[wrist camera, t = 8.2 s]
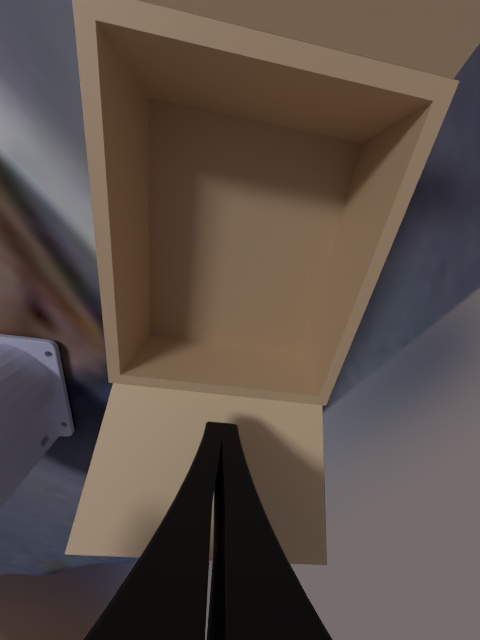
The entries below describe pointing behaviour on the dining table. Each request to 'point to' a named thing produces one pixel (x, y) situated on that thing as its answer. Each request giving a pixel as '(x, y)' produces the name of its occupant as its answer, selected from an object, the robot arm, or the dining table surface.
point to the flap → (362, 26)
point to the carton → (241, 195)
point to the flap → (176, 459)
